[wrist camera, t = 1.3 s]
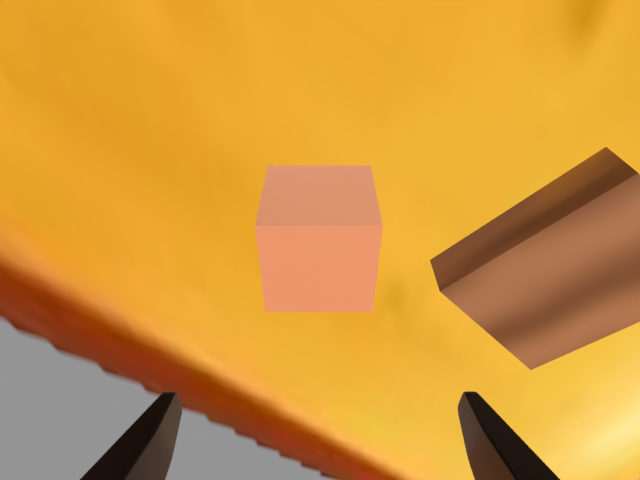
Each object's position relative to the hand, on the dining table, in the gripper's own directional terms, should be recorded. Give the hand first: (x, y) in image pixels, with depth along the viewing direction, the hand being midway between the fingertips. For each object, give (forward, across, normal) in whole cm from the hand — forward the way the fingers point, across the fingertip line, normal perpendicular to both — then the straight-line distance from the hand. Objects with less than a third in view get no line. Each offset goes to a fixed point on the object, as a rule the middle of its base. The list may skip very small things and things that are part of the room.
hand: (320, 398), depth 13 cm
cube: (+11, 0, 0) cm, 11 cm away
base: (+11, +13, -4) cm, 18 cm away
